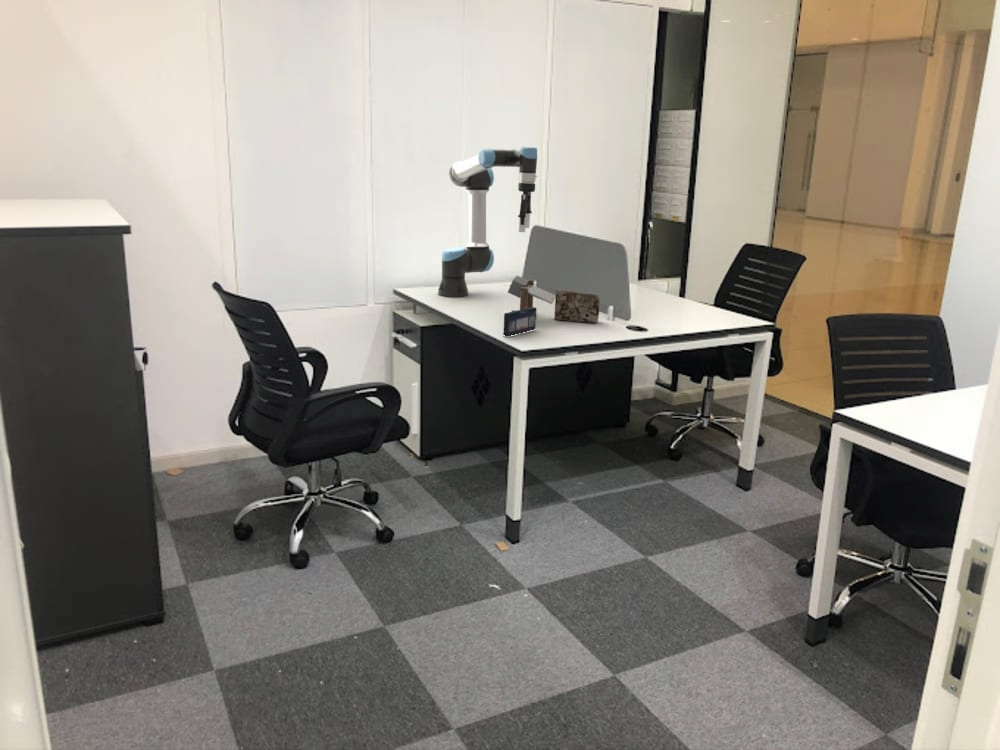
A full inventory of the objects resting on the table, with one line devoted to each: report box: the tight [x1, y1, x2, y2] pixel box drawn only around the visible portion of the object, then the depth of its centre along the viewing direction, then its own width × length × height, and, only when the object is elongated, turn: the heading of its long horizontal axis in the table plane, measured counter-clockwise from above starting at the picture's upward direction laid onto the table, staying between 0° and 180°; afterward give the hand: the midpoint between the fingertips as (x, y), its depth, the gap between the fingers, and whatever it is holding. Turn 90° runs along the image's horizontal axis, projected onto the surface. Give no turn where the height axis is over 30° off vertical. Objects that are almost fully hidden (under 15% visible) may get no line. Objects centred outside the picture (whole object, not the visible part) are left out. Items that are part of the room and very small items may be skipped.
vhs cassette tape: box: [502, 306, 538, 336], centre depth 333 cm, size 18×3×10 cm, turn 137°
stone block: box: [553, 290, 601, 324], centre depth 358 cm, size 13×7×20 cm
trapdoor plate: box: [507, 275, 556, 305], centre depth 356 cm, size 20×16×6 cm
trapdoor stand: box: [511, 278, 535, 312], centre depth 358 cm, size 11×24×16 cm, turn 170°
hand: (524, 230), depth 364 cm, fingers open, 13 cm apart
